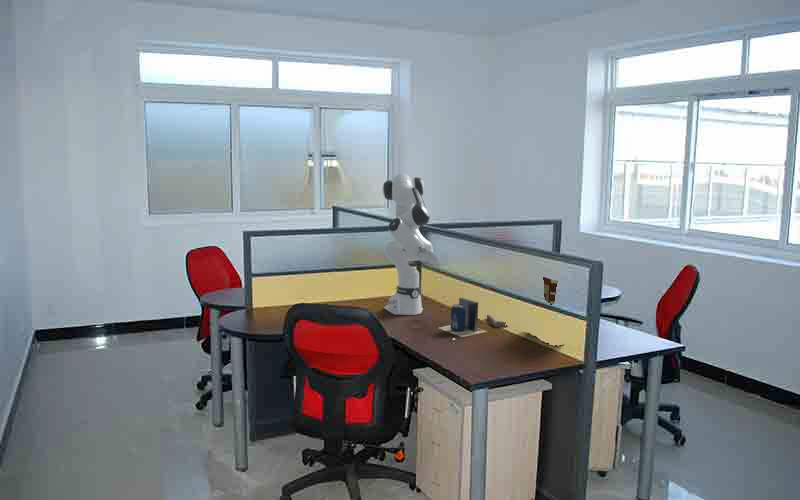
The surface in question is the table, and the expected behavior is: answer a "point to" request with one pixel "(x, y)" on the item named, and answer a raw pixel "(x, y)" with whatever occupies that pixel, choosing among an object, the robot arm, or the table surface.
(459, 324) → the soda can
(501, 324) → the packaged product
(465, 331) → the shelf plank
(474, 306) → the bookend
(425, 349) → the table surface
